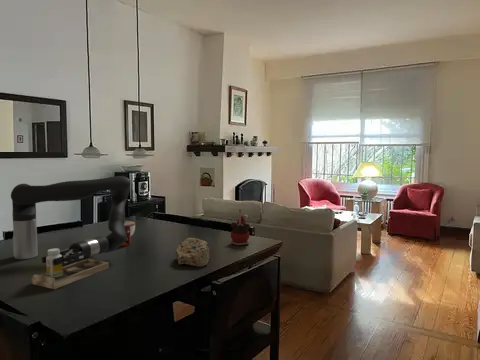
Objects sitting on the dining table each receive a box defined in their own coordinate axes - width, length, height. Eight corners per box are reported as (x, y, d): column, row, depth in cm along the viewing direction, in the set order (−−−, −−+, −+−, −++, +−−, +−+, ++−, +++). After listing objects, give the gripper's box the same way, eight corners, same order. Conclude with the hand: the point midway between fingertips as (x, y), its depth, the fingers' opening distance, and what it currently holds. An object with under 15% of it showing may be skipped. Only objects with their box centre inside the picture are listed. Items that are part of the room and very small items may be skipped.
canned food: (114, 247, 189) (114, 225, 188) (115, 243, 196) (114, 222, 195) (130, 246, 191) (130, 224, 190) (130, 242, 198) (130, 221, 197)
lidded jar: (138, 234, 216) (137, 218, 215) (131, 239, 205) (130, 222, 204) (120, 234, 217) (119, 218, 216) (112, 238, 206) (111, 221, 205)
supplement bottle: (65, 272, 143) (64, 247, 142) (59, 277, 138) (57, 251, 137) (51, 273, 143) (49, 247, 142) (44, 278, 137) (42, 251, 137)
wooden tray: (31, 284, 138) (31, 274, 138) (87, 264, 162) (87, 256, 162) (54, 289, 133) (54, 279, 133) (109, 267, 157) (108, 259, 156)
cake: (226, 244, 194) (226, 209, 193) (235, 240, 203) (235, 207, 201) (245, 247, 190) (245, 211, 188) (253, 242, 198) (253, 208, 196)
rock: (213, 268, 160) (207, 246, 157) (179, 277, 158) (173, 255, 156) (210, 250, 180) (204, 230, 177) (180, 258, 178) (174, 238, 176)
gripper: (71, 238, 155) (34, 249, 140) (97, 242, 149) (61, 253, 134) (72, 256, 156) (35, 268, 141) (98, 261, 150) (62, 274, 135)
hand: (48, 261), depth 137 cm, fingers closed on supplement bottle, 5 cm apart
